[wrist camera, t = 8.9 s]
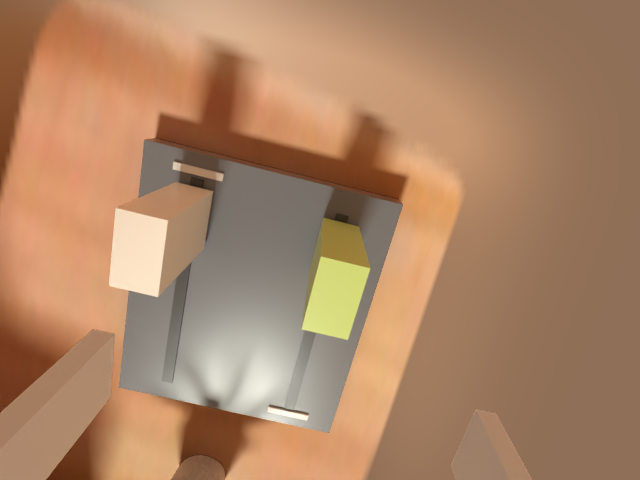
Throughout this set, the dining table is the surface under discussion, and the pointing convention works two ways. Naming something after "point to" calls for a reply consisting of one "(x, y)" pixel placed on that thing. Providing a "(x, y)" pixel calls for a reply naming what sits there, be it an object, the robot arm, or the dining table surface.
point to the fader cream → (158, 237)
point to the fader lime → (335, 280)
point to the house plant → (199, 469)
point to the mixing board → (250, 292)
